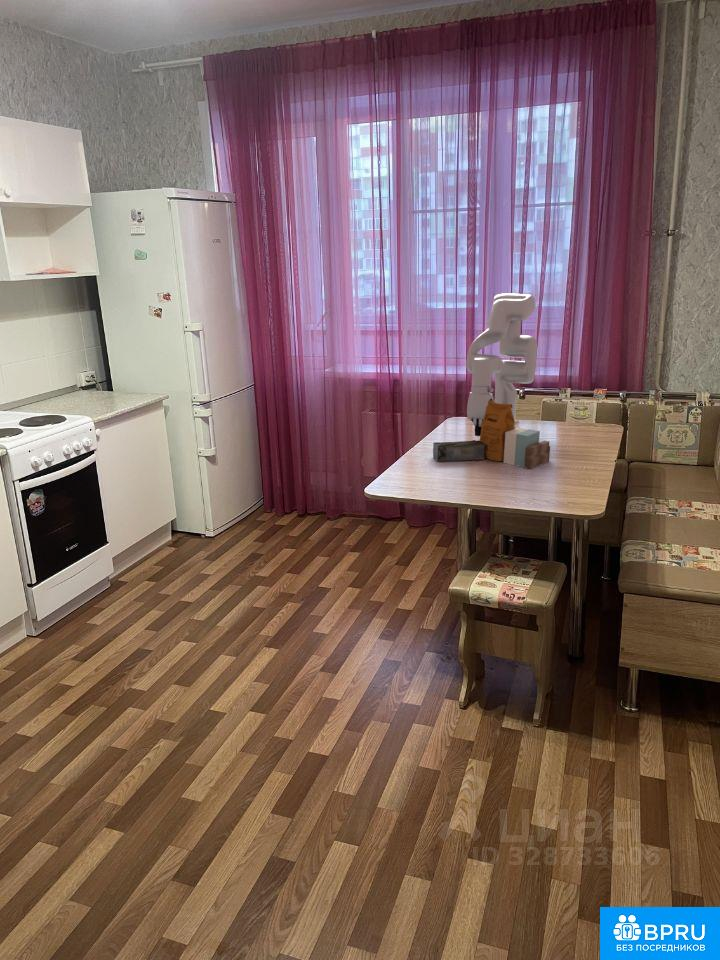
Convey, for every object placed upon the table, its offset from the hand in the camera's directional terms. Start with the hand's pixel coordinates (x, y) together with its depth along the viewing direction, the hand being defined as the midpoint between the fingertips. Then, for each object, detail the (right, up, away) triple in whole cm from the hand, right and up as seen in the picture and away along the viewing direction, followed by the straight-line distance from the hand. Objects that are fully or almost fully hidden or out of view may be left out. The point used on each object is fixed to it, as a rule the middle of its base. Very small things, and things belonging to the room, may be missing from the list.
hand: (478, 435), depth 292 cm
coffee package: (+6, -9, -5) cm, 12 cm away
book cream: (+12, -11, -10) cm, 19 cm away
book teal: (+16, -11, -12) cm, 23 cm away
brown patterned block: (+13, -10, -9) cm, 19 cm away
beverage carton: (-9, -10, -6) cm, 15 cm away
